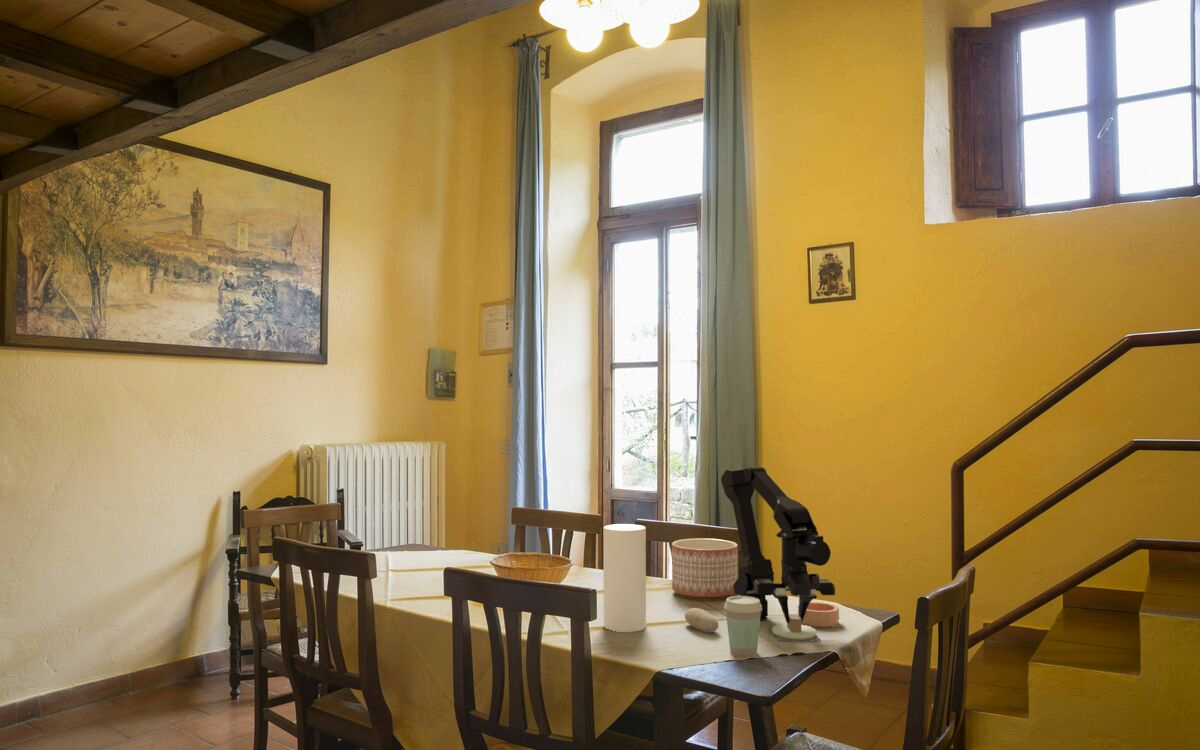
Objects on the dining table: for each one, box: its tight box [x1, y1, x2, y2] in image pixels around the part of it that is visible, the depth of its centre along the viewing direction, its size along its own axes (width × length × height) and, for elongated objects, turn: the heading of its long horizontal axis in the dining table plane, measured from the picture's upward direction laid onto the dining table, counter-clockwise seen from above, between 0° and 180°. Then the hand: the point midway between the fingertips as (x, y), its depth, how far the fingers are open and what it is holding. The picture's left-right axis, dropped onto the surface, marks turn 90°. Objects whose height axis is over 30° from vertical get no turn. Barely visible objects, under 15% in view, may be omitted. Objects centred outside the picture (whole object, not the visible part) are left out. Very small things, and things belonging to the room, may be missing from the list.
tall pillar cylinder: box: [603, 523, 647, 633], centre depth 206 cm, size 11×11×25 cm
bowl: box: [797, 601, 840, 628], centre depth 209 cm, size 10×10×4 cm
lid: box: [771, 613, 817, 640], centre depth 198 cm, size 10×10×4 cm
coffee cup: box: [723, 595, 762, 658], centre depth 184 cm, size 8×8×12 cm
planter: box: [671, 537, 739, 601], centre depth 240 cm, size 19×19×15 cm
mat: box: [768, 627, 821, 642], centre depth 198 cm, size 10×10×1 cm
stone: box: [684, 607, 720, 633], centre depth 203 cm, size 6×6×12 cm
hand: (794, 622), depth 198 cm, fingers open, 3 cm apart
